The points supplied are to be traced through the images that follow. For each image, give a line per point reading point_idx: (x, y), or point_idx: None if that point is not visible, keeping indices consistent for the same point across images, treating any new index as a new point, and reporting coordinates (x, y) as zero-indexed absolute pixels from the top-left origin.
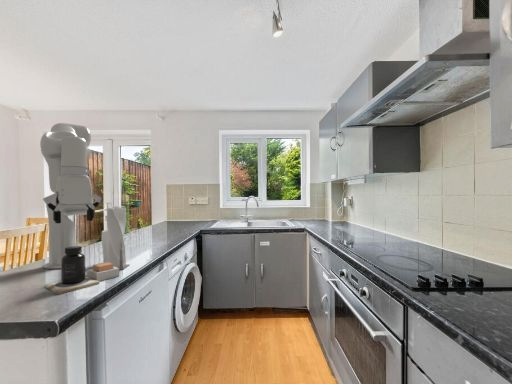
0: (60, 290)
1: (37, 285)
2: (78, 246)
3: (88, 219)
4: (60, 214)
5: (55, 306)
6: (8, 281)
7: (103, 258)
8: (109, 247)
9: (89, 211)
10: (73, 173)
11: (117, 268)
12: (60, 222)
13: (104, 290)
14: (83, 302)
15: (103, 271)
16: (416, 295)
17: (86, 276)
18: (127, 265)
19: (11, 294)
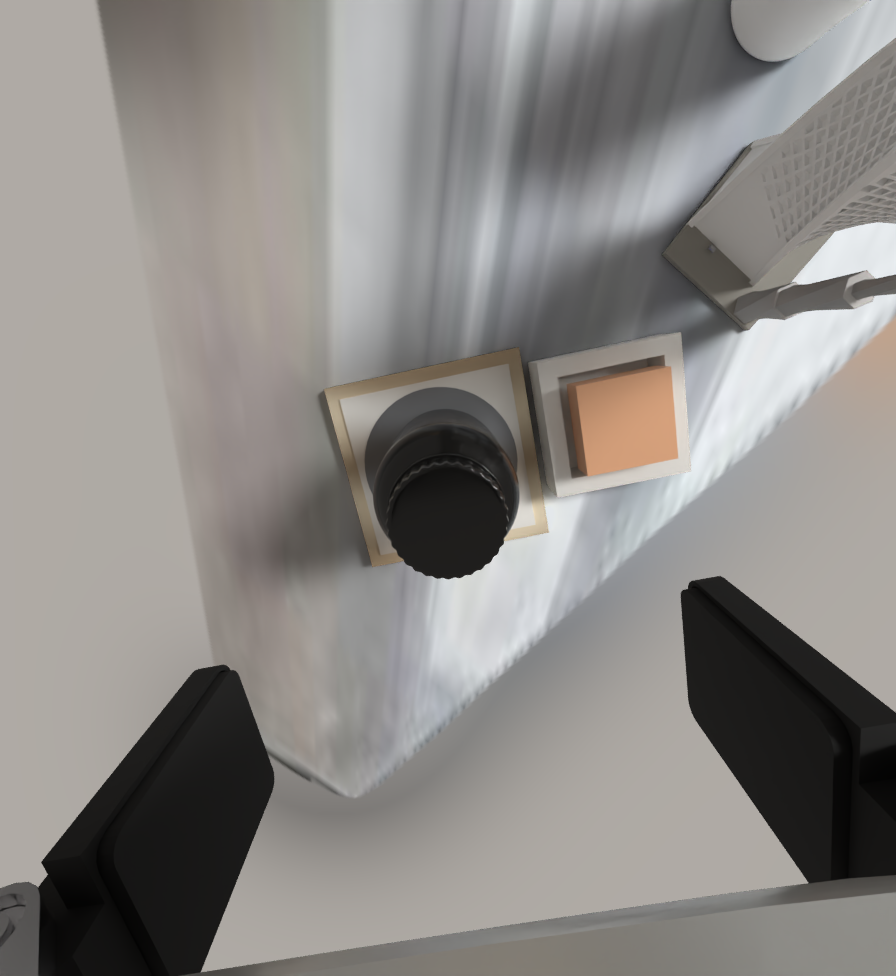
0: (381, 553)
1: (291, 319)
2: (487, 515)
3: (692, 655)
4: (212, 927)
5: (357, 690)
6: (126, 54)
7: None
8: (832, 102)
9: (801, 836)
10: None
11: (681, 470)
12: (269, 782)
13: (536, 638)
14: (441, 715)
15: (598, 481)
16: None
17: (523, 378)
18: (812, 251)
19: (193, 404)
